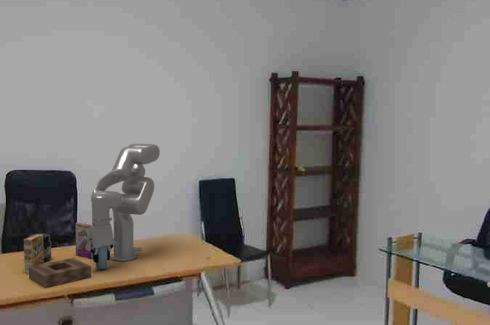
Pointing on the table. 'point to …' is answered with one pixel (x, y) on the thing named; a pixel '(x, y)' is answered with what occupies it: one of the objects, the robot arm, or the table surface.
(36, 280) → the peg block
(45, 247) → the supplement container
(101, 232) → the robot arm
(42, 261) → the candy box
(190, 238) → the table surface
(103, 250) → the peg
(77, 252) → the candy bar box
